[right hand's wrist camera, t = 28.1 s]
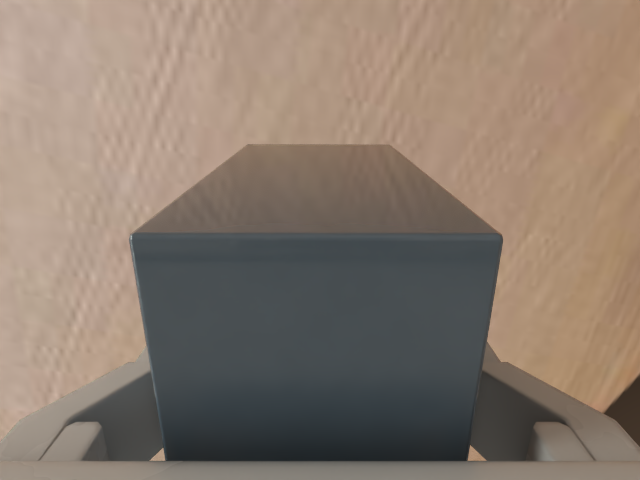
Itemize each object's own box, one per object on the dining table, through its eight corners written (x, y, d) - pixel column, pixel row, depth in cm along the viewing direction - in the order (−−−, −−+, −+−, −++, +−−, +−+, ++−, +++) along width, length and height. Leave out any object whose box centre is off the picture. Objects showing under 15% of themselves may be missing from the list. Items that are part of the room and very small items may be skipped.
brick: (259, 381, 16) (199, 674, 8) (246, 143, 13) (125, 233, 5) (377, 381, 16) (434, 675, 8) (391, 144, 13) (506, 234, 5)
